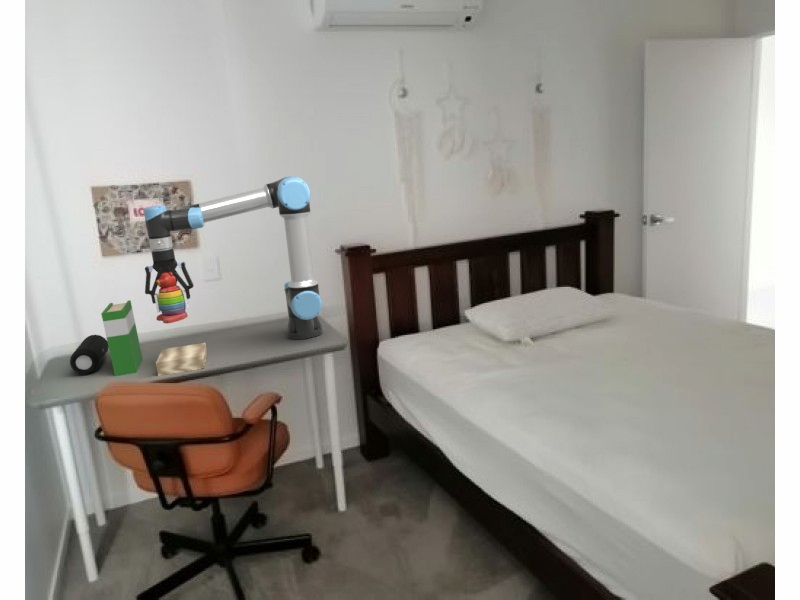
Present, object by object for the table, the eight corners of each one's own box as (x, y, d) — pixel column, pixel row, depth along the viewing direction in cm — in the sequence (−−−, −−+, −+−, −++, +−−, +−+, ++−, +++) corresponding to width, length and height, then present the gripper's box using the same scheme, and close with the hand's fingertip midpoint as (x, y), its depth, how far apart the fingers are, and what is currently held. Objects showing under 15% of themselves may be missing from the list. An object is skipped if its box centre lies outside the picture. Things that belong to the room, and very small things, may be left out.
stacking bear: (155, 320, 222) (146, 272, 218) (181, 313, 229) (173, 267, 224) (165, 324, 214) (156, 275, 210) (193, 317, 221) (184, 270, 216)
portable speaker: (100, 373, 225) (94, 348, 223) (71, 378, 223) (65, 353, 220) (111, 354, 249) (106, 331, 247) (86, 358, 247) (80, 335, 244)
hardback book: (122, 361, 237) (110, 303, 231) (142, 358, 239) (130, 300, 233) (114, 376, 220) (101, 313, 215) (136, 372, 222) (123, 310, 217)
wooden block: (207, 354, 236) (205, 342, 234) (204, 368, 219) (201, 355, 218) (164, 361, 232) (162, 349, 231) (158, 375, 216) (155, 362, 215)
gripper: (127, 254, 210) (140, 316, 215) (193, 246, 214) (203, 307, 219) (131, 251, 217) (143, 311, 222) (195, 244, 221) (205, 303, 227)
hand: (173, 309), depth 221 cm, fingers closed on stacking bear, 9 cm apart
